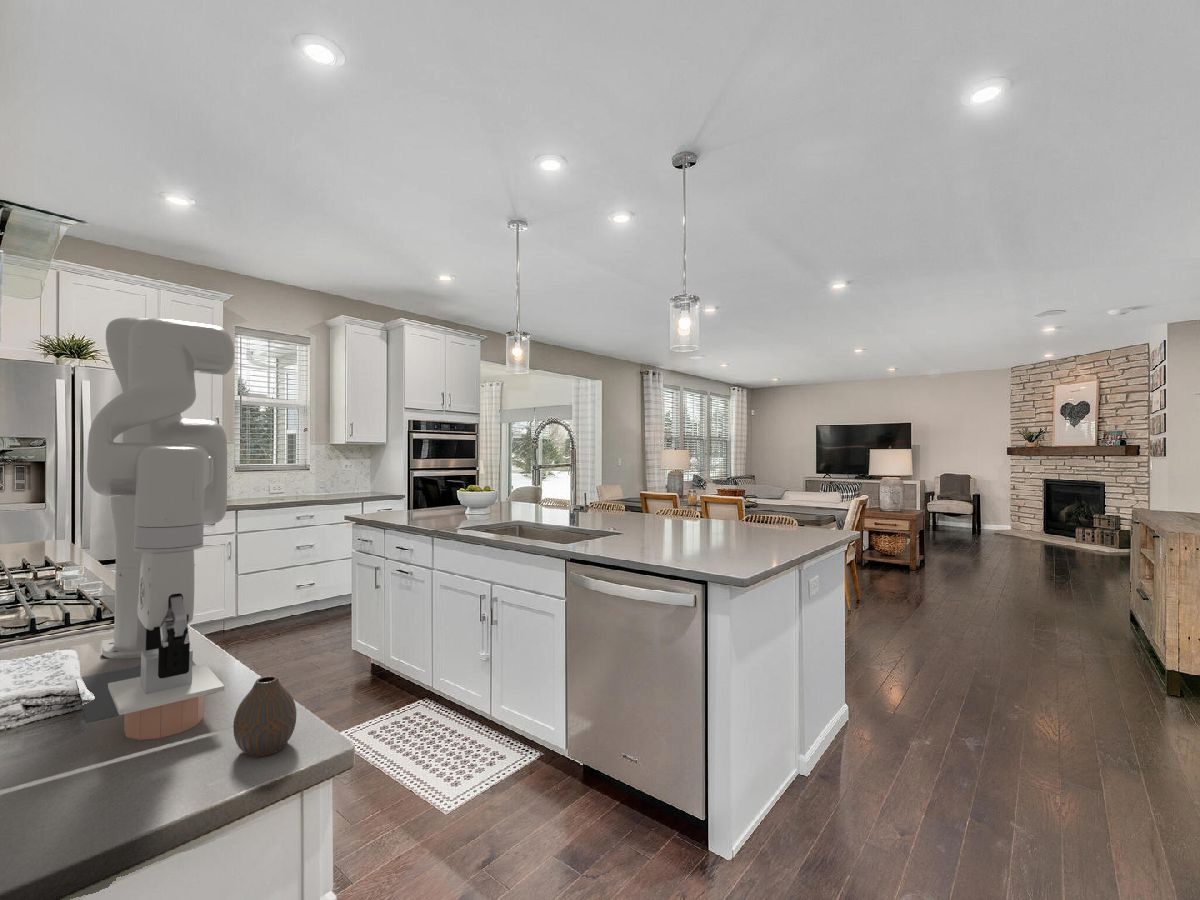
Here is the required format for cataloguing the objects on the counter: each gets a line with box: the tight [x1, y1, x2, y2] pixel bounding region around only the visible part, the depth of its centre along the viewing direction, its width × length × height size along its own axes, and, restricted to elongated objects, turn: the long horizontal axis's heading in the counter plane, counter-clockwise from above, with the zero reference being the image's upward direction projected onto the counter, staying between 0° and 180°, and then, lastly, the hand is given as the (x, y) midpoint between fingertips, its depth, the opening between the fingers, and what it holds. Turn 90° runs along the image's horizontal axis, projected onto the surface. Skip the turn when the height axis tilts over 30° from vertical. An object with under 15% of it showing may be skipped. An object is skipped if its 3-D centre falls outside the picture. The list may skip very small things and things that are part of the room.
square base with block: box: [108, 647, 225, 716], centre depth 79 cm, size 11×11×5 cm
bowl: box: [123, 695, 205, 741], centre depth 79 cm, size 8×8×5 cm
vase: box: [232, 675, 297, 758], centre depth 74 cm, size 7×7×9 cm
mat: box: [81, 660, 217, 724], centre depth 91 cm, size 20×15×1 cm
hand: (166, 664), depth 79 cm, fingers open, 9 cm apart
